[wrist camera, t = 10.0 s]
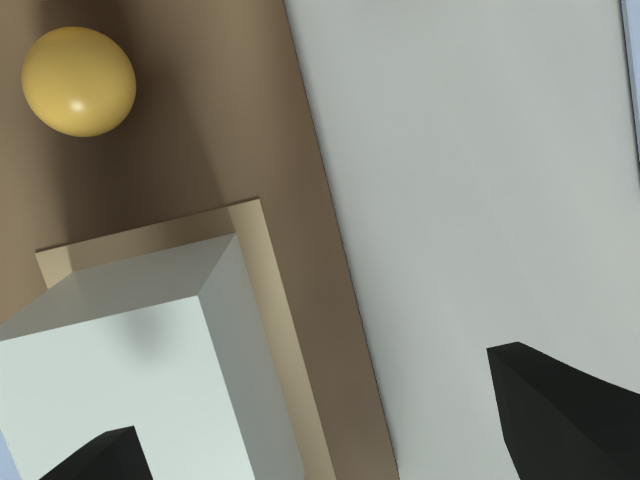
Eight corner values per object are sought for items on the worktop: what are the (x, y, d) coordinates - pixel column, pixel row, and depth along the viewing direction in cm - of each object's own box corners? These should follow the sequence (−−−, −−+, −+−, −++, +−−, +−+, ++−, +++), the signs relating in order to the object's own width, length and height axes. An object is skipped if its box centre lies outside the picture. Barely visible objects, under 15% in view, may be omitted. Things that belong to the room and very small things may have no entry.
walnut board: (222, -249, 17) (215, -271, 16) (398, 471, 23) (401, 490, 22) (-166, -134, 18) (-197, -148, 17) (98, 533, 24) (87, 554, 23)
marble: (131, 20, 18) (93, 7, 15) (161, 120, 19) (130, 126, 16) (36, 45, 18) (-19, 37, 15) (70, 143, 19) (23, 153, 16)
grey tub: (236, 232, 19) (197, 295, 14) (304, 470, 22) (296, 611, 16) (72, 272, 20) (-34, 349, 14) (155, 501, 22) (94, 651, 16)
